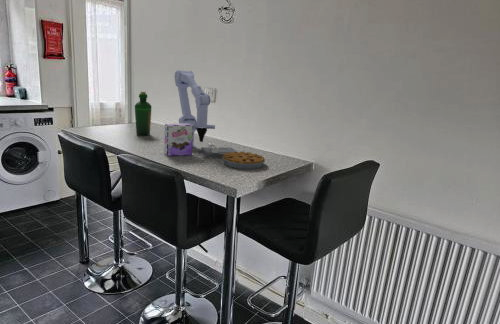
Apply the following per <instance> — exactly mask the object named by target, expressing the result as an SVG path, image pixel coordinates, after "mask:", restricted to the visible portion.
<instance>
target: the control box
mask: <svg viewBox="0 0 500 324" xmlns="http://www.w3.org/2000/svg"><path fill="white" fill-rule="evenodd" d="M217 147H218V148H219V153H213V152H212V151H211V149H209V148H208V146H207V147H205V146H203V147H201V148H200V151H201V153H202V154H203V155H204V156H205V158H207V159H217V158H218V159H223V158H222V156H223V154H224V153H225V154H226V153H227V152H230V153H232V152H238V151H237V150H236V149H235V148H233V147H222V146H221V147H219V146H217Z"/></svg>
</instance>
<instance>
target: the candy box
mask: <svg viewBox="0 0 500 324" xmlns="http://www.w3.org/2000/svg"><path fill="white" fill-rule="evenodd" d="M163 140H164V141H163V143H164V144H163V154H164V155H165V156H166V157H177V156H178V157H180V156H193V147H192V141H193V125H191V124H179V123H166V122H165V123H164V139H163Z"/></svg>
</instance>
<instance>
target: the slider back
mask: <svg viewBox="0 0 500 324" xmlns="http://www.w3.org/2000/svg"><path fill="white" fill-rule="evenodd" d="M214 146H215V147H216V144H215V143H214V142H208V143H207V147H208V148H209V149H211V148H212V147H214Z"/></svg>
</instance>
